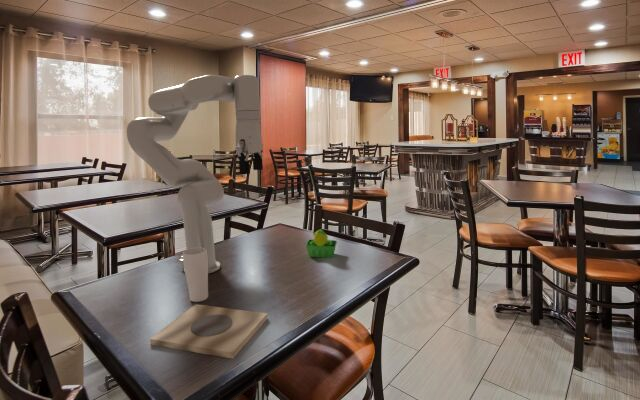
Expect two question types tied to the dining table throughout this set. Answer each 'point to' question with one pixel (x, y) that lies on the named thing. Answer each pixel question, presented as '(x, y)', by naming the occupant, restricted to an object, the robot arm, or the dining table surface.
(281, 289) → the dining table surface
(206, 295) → the drinking glass
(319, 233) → the fruit basket
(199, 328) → the serving board
